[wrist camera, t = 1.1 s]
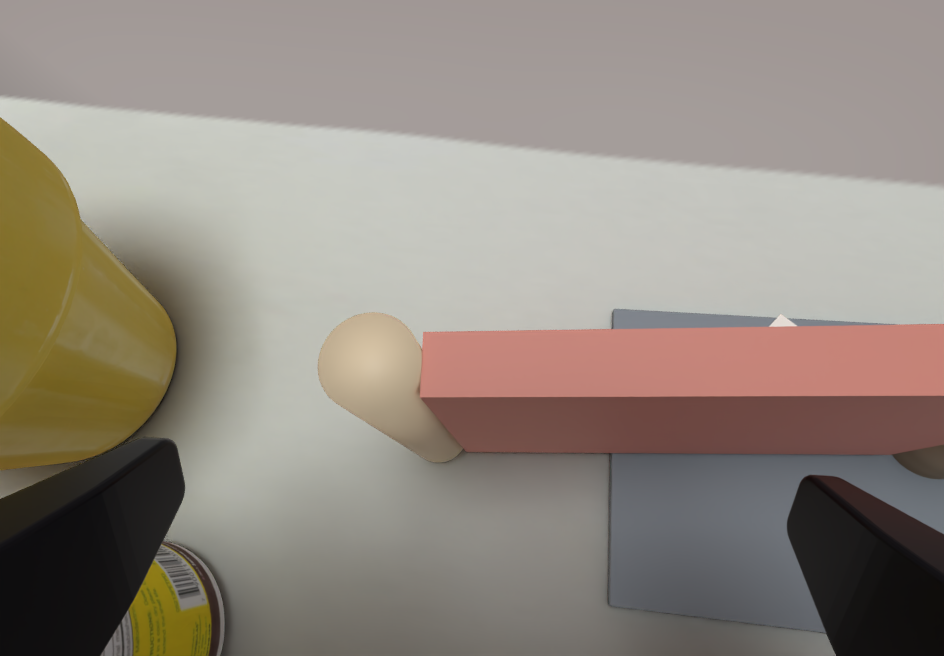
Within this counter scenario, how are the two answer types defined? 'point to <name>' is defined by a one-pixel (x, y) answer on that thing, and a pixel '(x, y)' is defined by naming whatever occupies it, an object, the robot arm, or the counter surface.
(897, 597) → the robot arm
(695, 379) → the fence gate
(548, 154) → the counter surface
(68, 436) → the plant pot
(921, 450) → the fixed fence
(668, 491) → the board
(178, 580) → the supplement bottle
